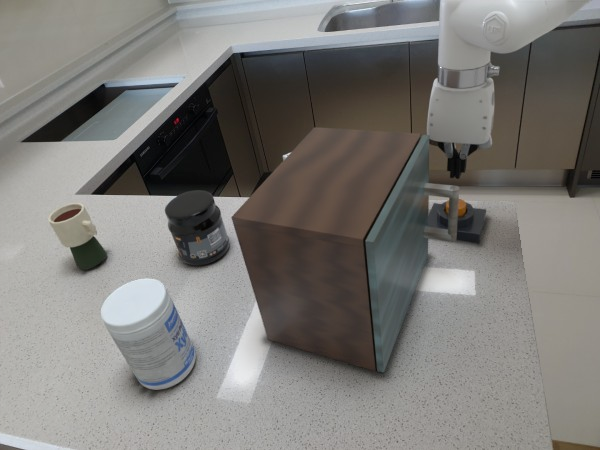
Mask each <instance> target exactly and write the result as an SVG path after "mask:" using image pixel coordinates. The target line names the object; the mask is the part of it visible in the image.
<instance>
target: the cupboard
mask: <svg viewBox="0 0 600 450" xmlns="http://www.w3.org/2000/svg"><path fill="white" fill-rule="evenodd" d="M421 137H422V133H417V132H401V131H400V132H399V131H383V130H368V129H367V130H365V129H352V128H351V129H350V128H335V127H334V128H333V127H331V128H330V127H316V126H315V127H313V128H312V130H310V132H308V133H307V135H306V136H305V137H304V138H303V139H301V141H300V142H299V143H298V144H297V146H296V147H294V148H293V150H292V151H291V152H289V153H290V154H289V155H288V156H287V158H286V159H285V160H284V161H282V162H280V164H279V165H278V166H277V167H276V168H275V169H274V170H273V171H272V172H271V174H270V175H269V176H268V177H267V178H266V179H265V180H264V181H263V182H262V183H261V185H260V186H259V187H258V188H257V189H256V190H255V191H254V192H253V193H252V194H250V196H249V197H248V198H247V200H246V201H245V202H244V203H243V204H242V205H241V206H240V207H239V208H238V209H237V210H236V211H235V213H233V215H232V216H230V217H231V221H232V224H233V228H234V231H235V234H236V238H237V242H238V245H239V248H240V251H241V254H242V257H243V262H244V265H245V268H246V271H247V275H248V278H249V282H250V284H251V288H252V291H253V294H254V298H255V302H256V304H257V308H258V311H259V314H260V318H261V321H262V325H263V327H264V331H265V334H266V337H267V340H269V341H272V342H275V343H279V344H282V345H285V346H289V347H292V348H296V349H299V350H302V351H305V352H309V353H312V354H316V355H319V356H323V357H326V358H329V359H333V360H336V361H339V362H343V363H346V364H350V365H353V366H357V367H359V368H363V369H366V370H369V371H373V372H376V371H377V362H376V351H375V340H374V329H373V319H372V308H371V297H370V286H369V275H368V264H367V254H366V243H365V240H366V239H367V237H368V235H369V233H370V231H371V229H372V228H373V226H374V224H375V222H376V220H377V218H378V217H379V215H380V213H381V211H382V209H383V207H384V205H385V204H386V202H387V200H388V198H389V196H390V194H391V193H392V191H393V189H394V187H395V185H396V183H397V182H398V180H399V178H400V176H401V174H402V172H403V171H404V169H405V167H406V165H407V163H408V161H409V159H410V158H411V156H412V154H413V152H414V150H415V148H416V147H417V145H418V143H419V141H420V139H421Z"/></svg>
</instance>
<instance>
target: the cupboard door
mask: <svg viewBox="0 0 600 450" xmlns="http://www.w3.org/2000/svg"><path fill="white" fill-rule="evenodd" d="M431 196H432V197H439V198H446V199H447V198H448V200H449V214H448V230H447V229H440V228H433V227H428V216H429V213H430V210H429V207H430V203H429V202H430V200H429V199H430V197H431ZM459 199H460V187H459V186H458V185H452V184H451V185H450V184H440V183H432V182H430V144H429V135H427V134H423V135H421V139H420V141H419V143H418V145H417V147H416V148H415V150H414V152H413V154H412V156H411V158H410V159H409V161H408V163H407V165H406V167H405V169H404V171H403V172H402V174H401V176H400V178H399V180H398V182H397V183H396V185H395V187H394V189H393V191H392V193H391V194H390V196H389V198H388V200H387V202H386V204H385V205H384V207H383V209H382V211H381V213H380V215H379V217H378V218H377V220H376V222H375V224H374V226H373V228H372V229H371V231H370V233H369V235H368V237H367V239H366V240H365V243H366V254H367V264H368V275H369V286H370V297H371V308H372V319H373V329H374V340H375V351H376V362H377V369H376V371H377V372H378V373H382V374H384V373H385V371H386V369H387V366H388V363H389V361H390V358H391V355H392V353H393V350H394V348H395V345H396V342H397V340H398V337H399V335H400V331H401V329H402V327H403V324H404V320H405V318H406V315H407V313H408V310H409V308H410V305H411V302H412V299H413V297H414V294H415V291H416V289H417V286H418V283H419V281H420V278H421V276H422V273H423V270H424V267H425V265H426V262H427V259H428V257H429V239H430V240H434V241H435V240H436V241H442V242H449V243H455V242H456V241H457V240H456V238H457V221H458V203H459Z"/></svg>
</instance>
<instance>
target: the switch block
mask: <svg viewBox="0 0 600 450" xmlns="http://www.w3.org/2000/svg"><path fill="white" fill-rule="evenodd" d="M447 201H448V200H447ZM447 201H444V202H443V203H437V202H434V203H432V207H431V209H430V210H429V214H428V227H433V228H440V229H447V230H448V214H447V213H446V202H447ZM486 218H487V209H486V208H477V207H473V205H472V204H470V203H468V202H466V213H465V214H464V215H463V216H459V217H458V221H457V238H456V241H459V242H466V243H472V244H480V241H481V237H482V233H483V230H484V226H485V222H486Z"/></svg>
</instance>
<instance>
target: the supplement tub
mask: <svg viewBox="0 0 600 450" xmlns="http://www.w3.org/2000/svg"><path fill="white" fill-rule="evenodd" d="M100 317H101V319H102V321H103V324H104V327H105V329H106V330H107V332H108V333H109V335H110V337H111V338H112V340H113V341H114V343H115V345H116V347H117V349H118V350H119V352H120V353H121V356H123V358H124V360H125V362H126V363H127V365H128V366H129V368H130V370H131V371H132V374H133V375H134V376H135V378H136V380H137V381H138V382H139V384H141V386H143V387H145V388H146V389H150V390H155V391H156V390H157V391H158V390H165V389H166V390H167V389H169V388H172V387H173V386H176V385H177V384H179V383H180V382H182V381H183V380H184V379H185V378H186V377H187V376H188V375H189V374H190V373H191V371H192V370H193V368H194V365H195V363H196V357H197V353H196V348H195V347H194V344H193V341H192V340H191V338H190V336H189V334H188V331H187V329H186V326H185V324H184V322H183V320H182V318H181V316H180V313H179V311H178V309H177V308H176V305H175V303H174V300H173V298H172V296H171V294H170V292H169V291H168V289H167V288H166V286H165V285H164V283H162V281H160V280H158V279H156V278H146V277H145V278H139V279H135V280H132V281H128V282H126V283H125V284H122V285H121V286H119V287H117V288H116V289H115V290H113V291H112V292H111V293H110V294H109V295H108V296H107V298H106V299H105V300H104V302H103V303H102V305H101V309H100Z"/></svg>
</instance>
